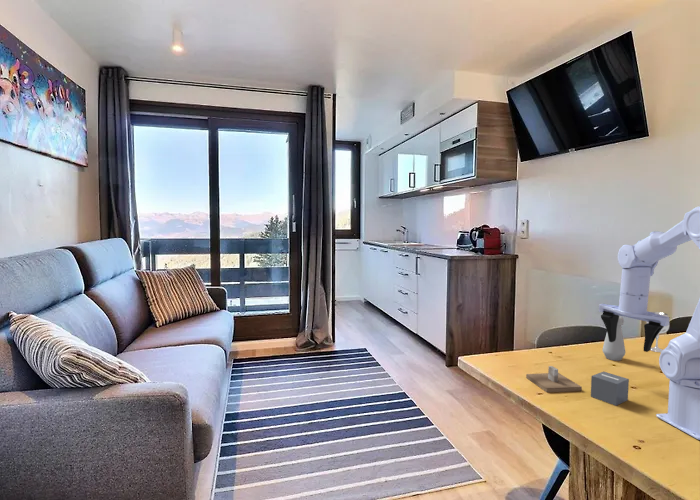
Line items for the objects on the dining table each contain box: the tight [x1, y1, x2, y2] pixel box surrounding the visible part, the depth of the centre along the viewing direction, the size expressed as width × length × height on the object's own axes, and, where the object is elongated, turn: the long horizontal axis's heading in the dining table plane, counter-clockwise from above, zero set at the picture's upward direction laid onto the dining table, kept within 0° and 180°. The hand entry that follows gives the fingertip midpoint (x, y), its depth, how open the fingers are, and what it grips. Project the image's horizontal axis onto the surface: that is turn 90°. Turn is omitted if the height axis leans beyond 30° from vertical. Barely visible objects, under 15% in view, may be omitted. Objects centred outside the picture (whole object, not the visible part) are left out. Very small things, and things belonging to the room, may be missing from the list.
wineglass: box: [646, 311, 670, 353], centre depth 125 cm, size 6×6×12 cm
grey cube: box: [590, 371, 630, 406], centre depth 90 cm, size 5×5×5 cm
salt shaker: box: [602, 316, 626, 362], centre depth 117 cm, size 6×6×13 cm
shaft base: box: [525, 365, 583, 393], centre depth 98 cm, size 9×9×4 cm
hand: (628, 345), depth 98 cm, fingers open, 7 cm apart
